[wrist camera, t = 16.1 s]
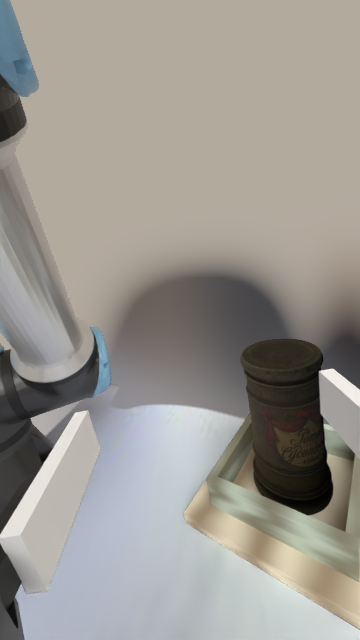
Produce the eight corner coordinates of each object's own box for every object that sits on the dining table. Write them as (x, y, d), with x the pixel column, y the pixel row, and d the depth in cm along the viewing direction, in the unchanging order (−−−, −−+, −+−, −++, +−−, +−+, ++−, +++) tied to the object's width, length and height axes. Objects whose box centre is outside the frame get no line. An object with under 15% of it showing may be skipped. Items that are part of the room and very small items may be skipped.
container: (241, 475, 35) (221, 353, 31) (290, 445, 38) (278, 331, 34) (294, 535, 27) (278, 382, 22) (351, 490, 30) (346, 349, 26)
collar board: (185, 522, 32) (177, 487, 31) (248, 423, 47) (245, 396, 45) (397, 652, 20) (398, 603, 18) (391, 461, 34) (392, 426, 33)
